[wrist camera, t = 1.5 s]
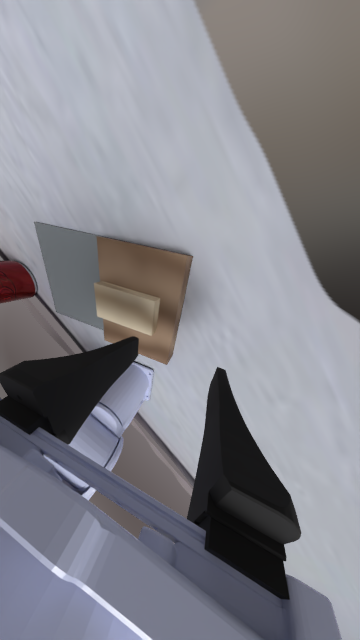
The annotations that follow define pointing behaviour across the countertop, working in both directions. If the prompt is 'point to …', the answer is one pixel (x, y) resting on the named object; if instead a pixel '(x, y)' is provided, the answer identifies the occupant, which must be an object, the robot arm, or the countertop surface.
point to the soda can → (15, 282)
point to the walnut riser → (146, 290)
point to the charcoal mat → (71, 271)
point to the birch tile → (127, 307)
